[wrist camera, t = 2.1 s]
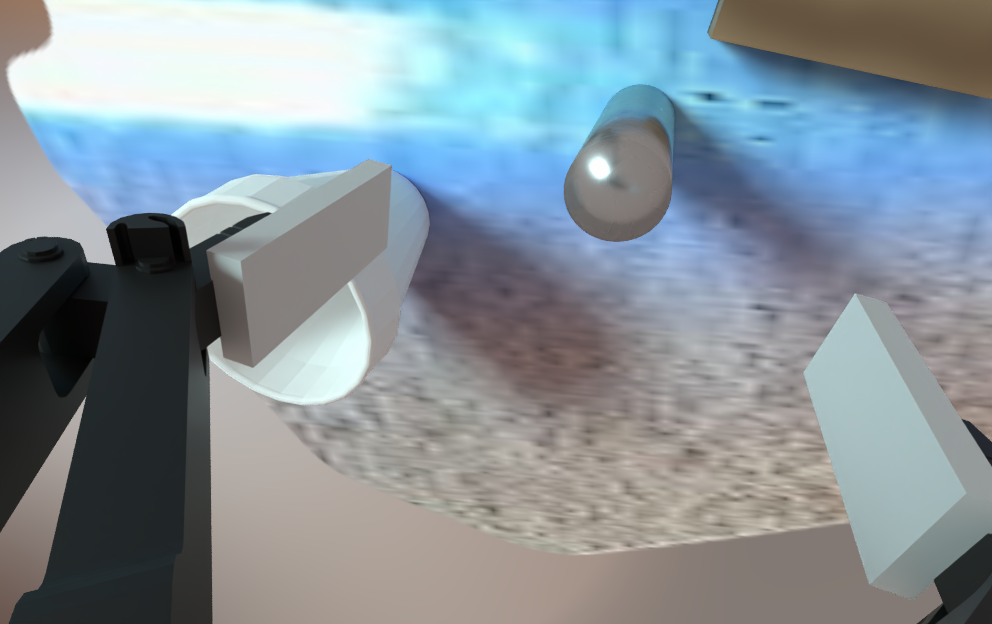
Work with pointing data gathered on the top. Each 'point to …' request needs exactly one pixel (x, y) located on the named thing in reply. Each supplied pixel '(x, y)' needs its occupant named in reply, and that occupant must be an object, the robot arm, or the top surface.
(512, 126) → the top surface
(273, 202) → the cup
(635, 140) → the pin
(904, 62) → the bore block
